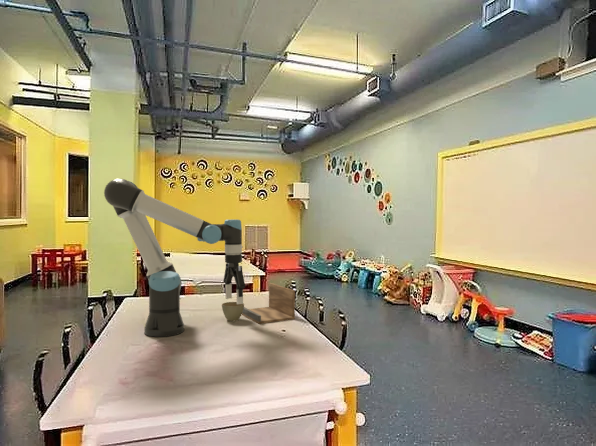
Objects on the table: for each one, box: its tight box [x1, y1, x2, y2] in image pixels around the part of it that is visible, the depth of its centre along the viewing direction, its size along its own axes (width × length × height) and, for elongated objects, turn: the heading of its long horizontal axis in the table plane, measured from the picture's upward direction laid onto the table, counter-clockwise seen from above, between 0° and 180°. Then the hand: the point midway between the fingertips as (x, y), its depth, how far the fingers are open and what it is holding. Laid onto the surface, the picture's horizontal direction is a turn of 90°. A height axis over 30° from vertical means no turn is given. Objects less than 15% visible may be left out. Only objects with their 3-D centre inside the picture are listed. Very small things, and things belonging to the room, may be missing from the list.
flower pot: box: [221, 301, 245, 322], centre depth 186 cm, size 10×10×7 cm
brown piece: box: [241, 282, 296, 325], centre depth 193 cm, size 18×24×13 cm
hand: (234, 301), depth 186 cm, fingers open, 13 cm apart
